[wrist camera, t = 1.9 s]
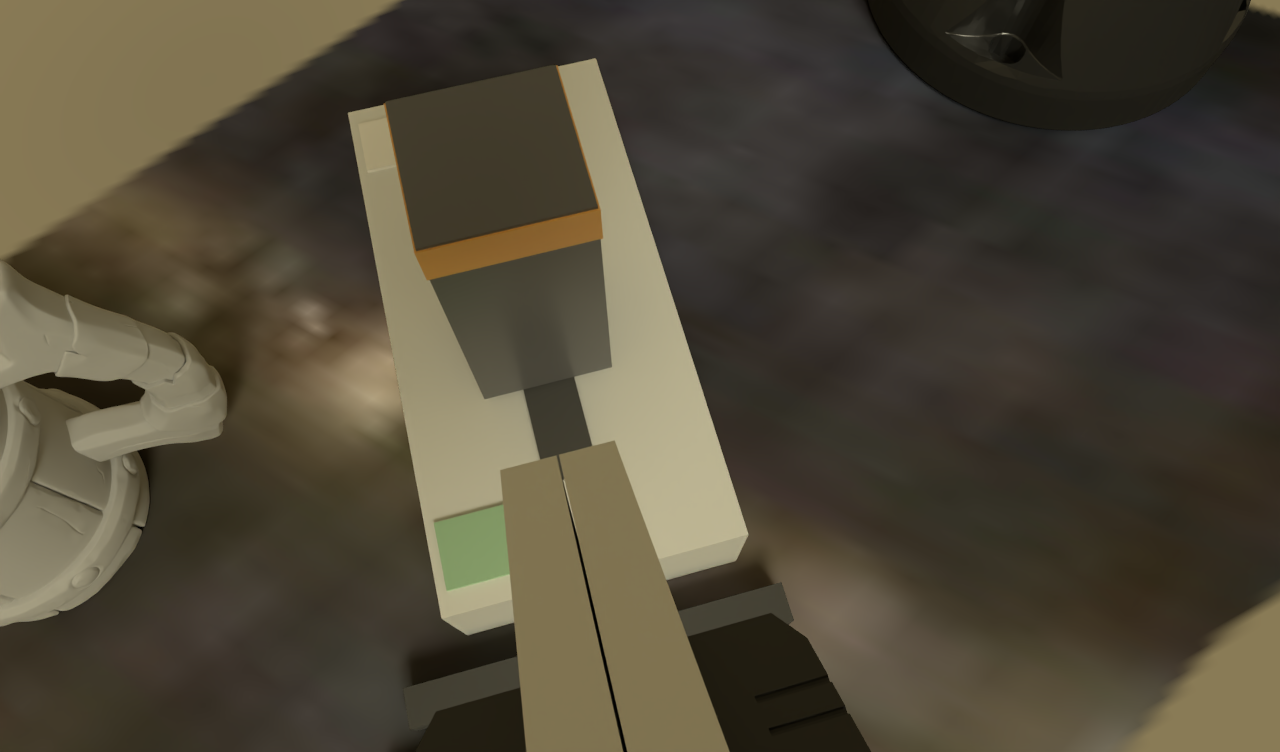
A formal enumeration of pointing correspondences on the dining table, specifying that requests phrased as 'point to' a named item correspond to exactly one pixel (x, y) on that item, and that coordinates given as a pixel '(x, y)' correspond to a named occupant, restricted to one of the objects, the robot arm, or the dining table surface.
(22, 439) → the mug
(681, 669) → the robot arm
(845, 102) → the dining table surface
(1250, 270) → the dining table surface
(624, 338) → the switch box
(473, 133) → the lever
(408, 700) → the dark grey rail bar
